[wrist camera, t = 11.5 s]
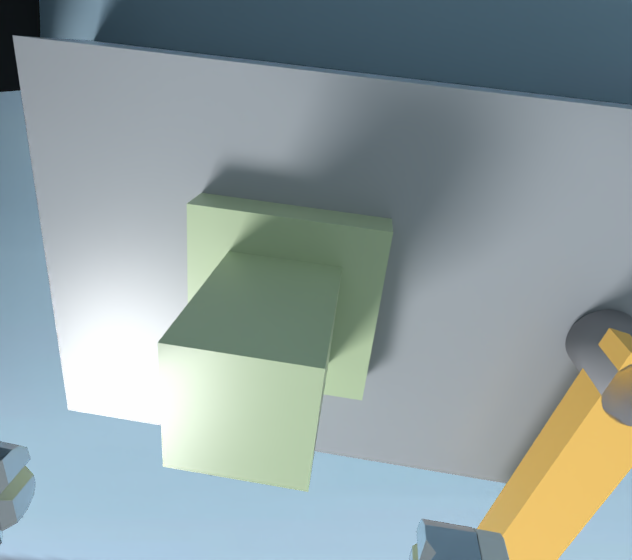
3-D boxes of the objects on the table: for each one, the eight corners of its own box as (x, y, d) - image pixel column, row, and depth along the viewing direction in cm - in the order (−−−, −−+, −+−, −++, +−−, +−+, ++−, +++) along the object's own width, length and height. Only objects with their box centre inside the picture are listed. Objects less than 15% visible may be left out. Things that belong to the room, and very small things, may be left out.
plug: (222, 315, 23) (113, 496, 14) (226, 173, 20) (90, 276, 11) (364, 337, 23) (356, 539, 13) (389, 196, 20) (401, 323, 10)
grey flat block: (119, 352, 27) (68, 409, 23) (92, 40, 20) (12, 35, 16) (545, 419, 26) (581, 495, 21) (670, 109, 19) (761, 124, 15)
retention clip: (517, 517, 22) (538, 586, 19) (463, 501, 22) (476, 568, 19) (655, 322, 17) (711, 374, 14) (587, 300, 17) (629, 348, 14)
